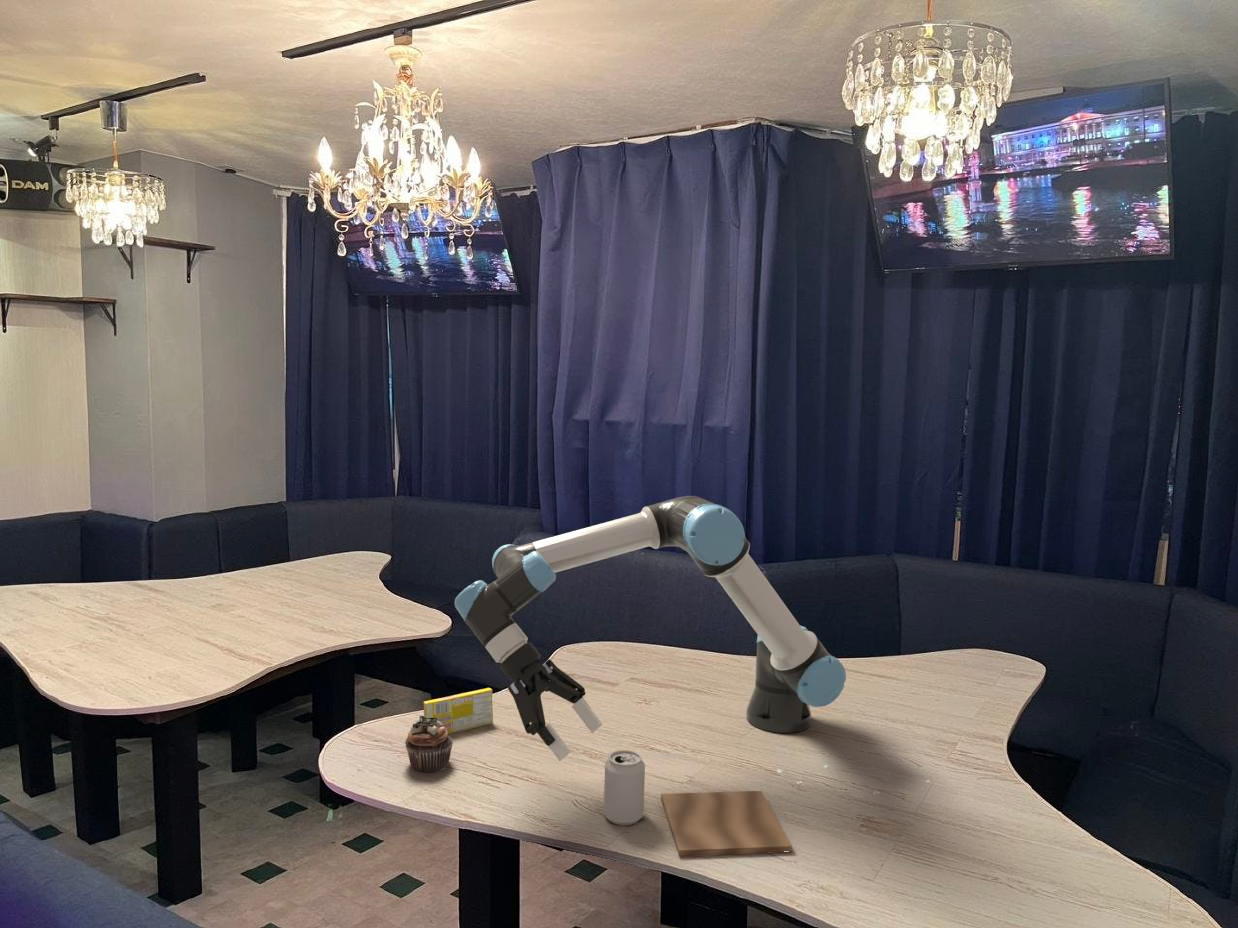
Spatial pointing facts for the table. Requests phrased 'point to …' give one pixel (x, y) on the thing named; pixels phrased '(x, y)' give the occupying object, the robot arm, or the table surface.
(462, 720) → the candy box
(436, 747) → the cupcake
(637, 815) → the can
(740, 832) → the walnut board
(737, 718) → the table surface
